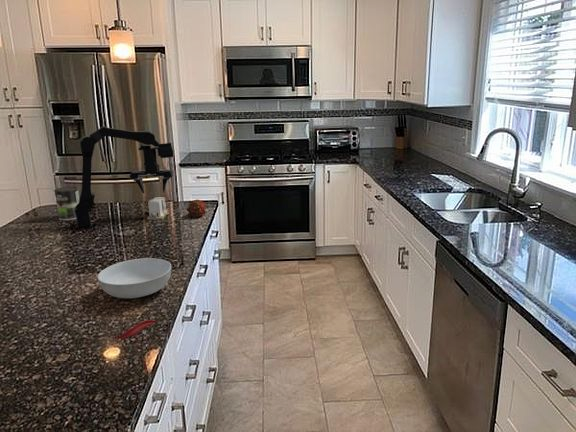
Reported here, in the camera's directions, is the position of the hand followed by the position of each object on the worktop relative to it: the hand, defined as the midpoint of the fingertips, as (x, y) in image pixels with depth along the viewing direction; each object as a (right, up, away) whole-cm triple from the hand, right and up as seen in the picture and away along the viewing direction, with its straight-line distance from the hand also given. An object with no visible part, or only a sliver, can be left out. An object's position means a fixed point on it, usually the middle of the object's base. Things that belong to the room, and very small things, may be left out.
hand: (153, 192), depth 218 cm
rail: (0, -11, +6) cm, 12 cm away
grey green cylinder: (-42, -12, +7) cm, 44 cm away
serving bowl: (+17, -34, -77) cm, 86 cm away
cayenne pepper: (+25, -40, -100) cm, 110 cm away
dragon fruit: (+19, -11, +4) cm, 23 cm away
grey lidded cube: (0, -10, +3) cm, 11 cm away
